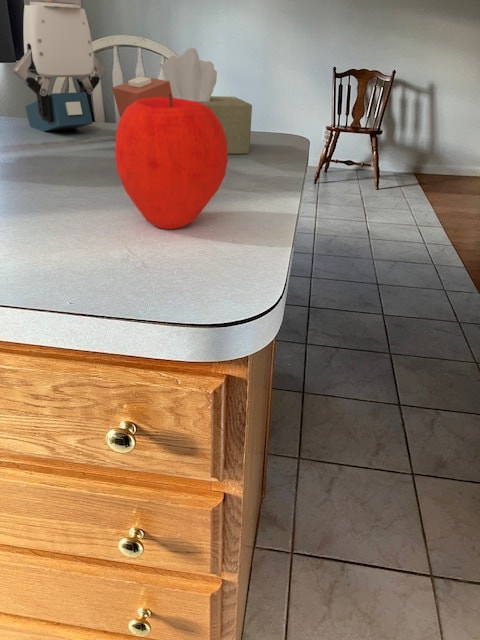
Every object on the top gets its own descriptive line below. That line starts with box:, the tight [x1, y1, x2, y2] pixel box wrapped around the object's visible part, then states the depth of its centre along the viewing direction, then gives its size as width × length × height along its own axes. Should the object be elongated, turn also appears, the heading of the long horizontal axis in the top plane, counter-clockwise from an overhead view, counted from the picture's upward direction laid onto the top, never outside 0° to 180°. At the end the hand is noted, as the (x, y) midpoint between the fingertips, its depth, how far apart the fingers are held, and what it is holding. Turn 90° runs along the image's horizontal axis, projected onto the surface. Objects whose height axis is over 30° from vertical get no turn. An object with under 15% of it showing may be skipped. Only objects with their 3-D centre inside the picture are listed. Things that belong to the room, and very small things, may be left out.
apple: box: [114, 94, 229, 230], centre depth 57 cm, size 12×12×13 cm
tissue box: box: [160, 47, 253, 155], centre depth 91 cm, size 19×10×16 cm, turn 107°
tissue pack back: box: [24, 91, 93, 133], centre depth 93 cm, size 13×6×5 cm, turn 43°
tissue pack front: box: [111, 76, 173, 119], centre depth 73 cm, size 13×6×5 cm
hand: (66, 118), depth 92 cm, fingers closed on tissue pack back, 6 cm apart
